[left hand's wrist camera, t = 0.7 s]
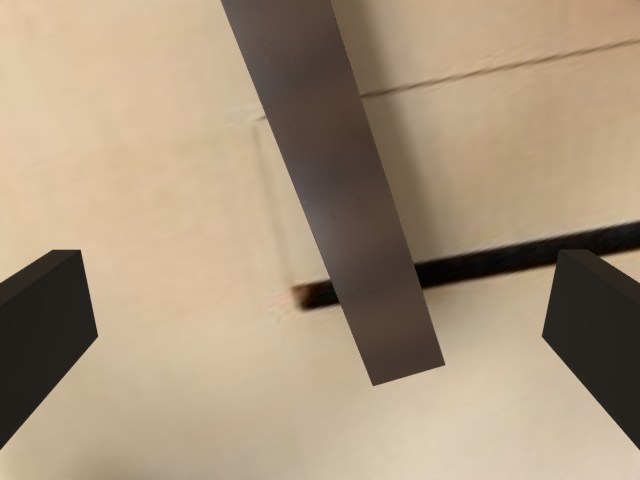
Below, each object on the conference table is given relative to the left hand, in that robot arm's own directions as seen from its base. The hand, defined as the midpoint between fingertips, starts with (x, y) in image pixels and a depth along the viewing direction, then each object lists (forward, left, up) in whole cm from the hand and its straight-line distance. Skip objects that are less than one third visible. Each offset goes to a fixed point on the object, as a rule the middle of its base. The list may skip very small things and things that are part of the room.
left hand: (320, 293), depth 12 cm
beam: (+1, -1, -21) cm, 21 cm away
